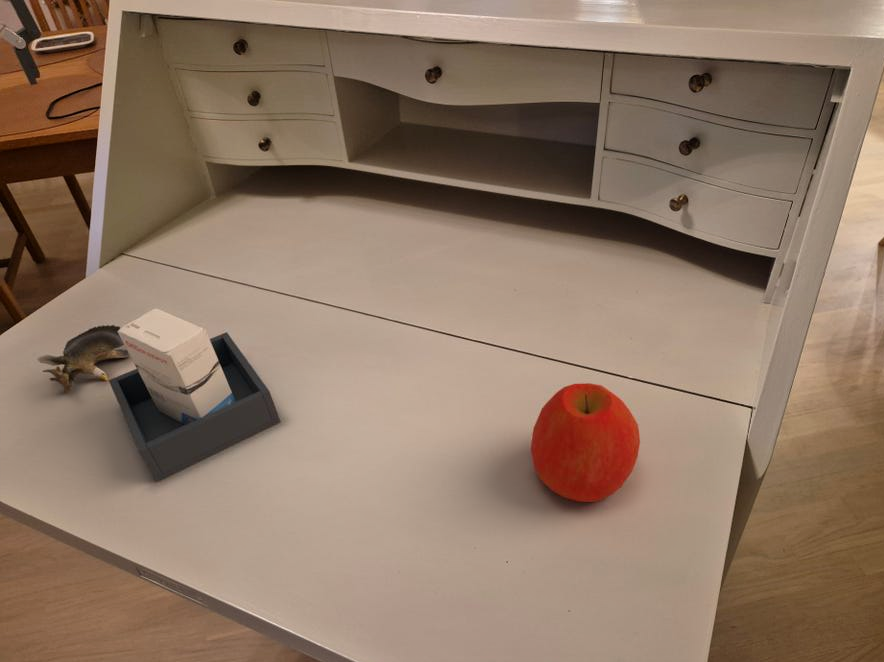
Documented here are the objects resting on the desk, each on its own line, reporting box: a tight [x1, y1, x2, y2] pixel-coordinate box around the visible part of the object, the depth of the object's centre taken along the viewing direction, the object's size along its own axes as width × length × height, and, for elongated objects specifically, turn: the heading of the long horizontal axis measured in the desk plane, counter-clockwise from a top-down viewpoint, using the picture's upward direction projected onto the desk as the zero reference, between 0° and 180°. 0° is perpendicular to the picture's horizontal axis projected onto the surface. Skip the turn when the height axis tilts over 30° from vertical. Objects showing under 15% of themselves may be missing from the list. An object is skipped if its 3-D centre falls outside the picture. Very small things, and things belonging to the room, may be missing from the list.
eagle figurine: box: [36, 324, 130, 394], centre depth 78 cm, size 8×7×9 cm
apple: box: [530, 382, 641, 503], centre depth 60 cm, size 10×10×10 cm
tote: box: [108, 331, 282, 483], centre depth 71 cm, size 14×14×5 cm
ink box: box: [117, 307, 236, 425], centre depth 68 cm, size 8×5×12 cm, turn 59°
